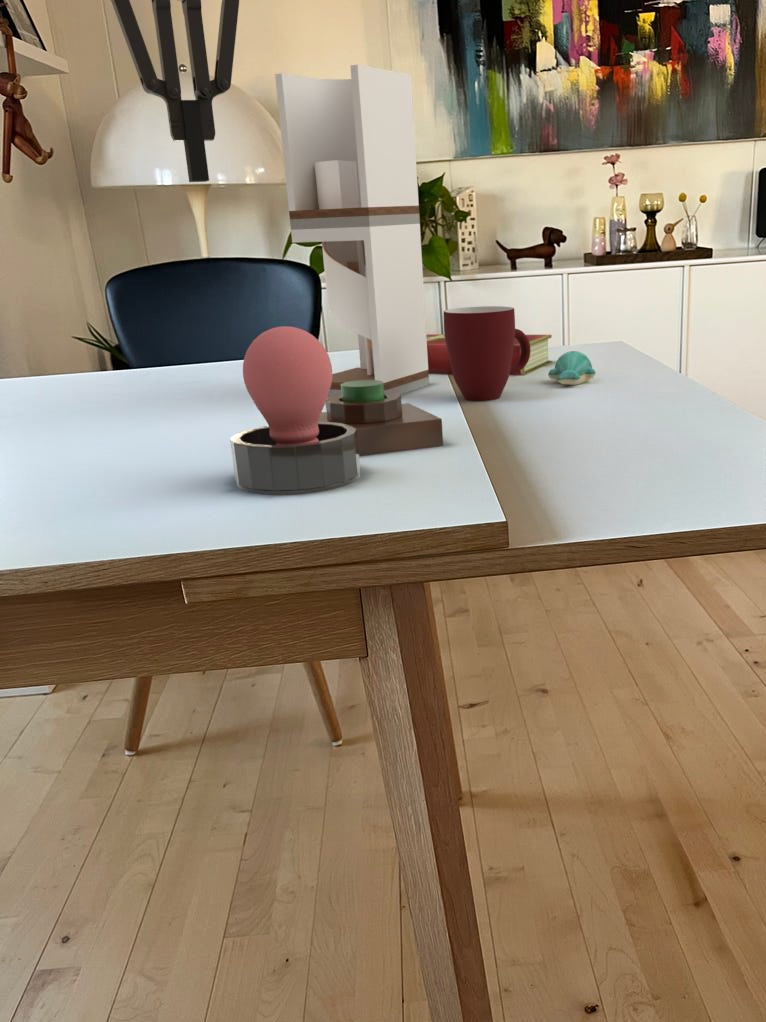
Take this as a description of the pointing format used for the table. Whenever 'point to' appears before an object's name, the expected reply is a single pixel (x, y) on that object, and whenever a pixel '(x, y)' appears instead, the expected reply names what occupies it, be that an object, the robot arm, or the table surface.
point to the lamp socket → (296, 461)
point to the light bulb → (288, 382)
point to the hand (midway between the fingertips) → (199, 181)
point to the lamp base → (386, 424)
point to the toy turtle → (572, 369)
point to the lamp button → (362, 391)
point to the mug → (483, 349)
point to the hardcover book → (538, 359)
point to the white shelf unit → (361, 213)
